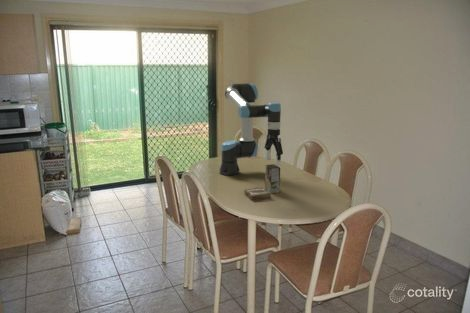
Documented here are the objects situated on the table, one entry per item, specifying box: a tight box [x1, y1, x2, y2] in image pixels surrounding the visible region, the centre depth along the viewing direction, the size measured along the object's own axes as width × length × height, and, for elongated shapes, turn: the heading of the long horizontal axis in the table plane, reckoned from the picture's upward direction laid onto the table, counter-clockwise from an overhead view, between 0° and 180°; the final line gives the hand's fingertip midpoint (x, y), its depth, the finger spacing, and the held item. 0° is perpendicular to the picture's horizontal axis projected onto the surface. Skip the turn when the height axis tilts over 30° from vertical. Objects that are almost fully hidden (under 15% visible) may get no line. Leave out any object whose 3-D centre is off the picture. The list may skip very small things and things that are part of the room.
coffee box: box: [264, 163, 281, 194], centre depth 222 cm, size 9×6×16 cm
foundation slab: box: [243, 186, 272, 202], centre depth 213 cm, size 12×12×3 cm
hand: (273, 162), depth 219 cm, fingers open, 13 cm apart
